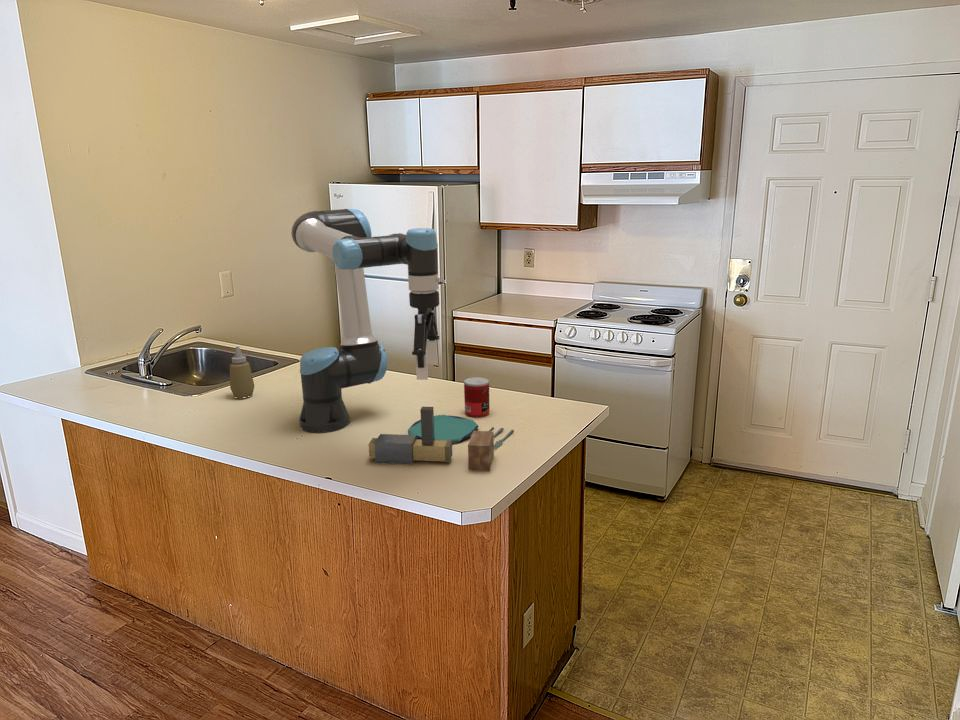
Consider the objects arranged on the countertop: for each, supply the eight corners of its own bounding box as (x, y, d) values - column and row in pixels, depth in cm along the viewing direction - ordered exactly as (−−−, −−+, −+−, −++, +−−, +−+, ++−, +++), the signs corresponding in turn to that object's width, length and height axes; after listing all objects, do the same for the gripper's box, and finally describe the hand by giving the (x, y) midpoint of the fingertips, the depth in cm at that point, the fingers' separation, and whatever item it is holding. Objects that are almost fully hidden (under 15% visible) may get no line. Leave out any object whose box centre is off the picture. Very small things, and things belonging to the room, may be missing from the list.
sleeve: (375, 463, 183) (374, 442, 182) (381, 454, 189) (380, 433, 187) (412, 464, 182) (411, 443, 180) (417, 455, 188) (416, 435, 186)
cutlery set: (431, 417, 217) (431, 410, 216) (518, 432, 204) (518, 425, 203) (397, 440, 200) (396, 432, 199) (489, 458, 187) (489, 451, 186)
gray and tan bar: (369, 458, 184) (365, 409, 180) (373, 452, 188) (370, 403, 184) (449, 461, 181) (447, 411, 177) (452, 455, 185) (450, 406, 182)
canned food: (487, 418, 214) (486, 385, 211) (462, 417, 216) (461, 383, 213) (491, 410, 221) (491, 377, 218) (467, 408, 223) (466, 376, 220)
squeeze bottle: (260, 395, 240) (254, 345, 235) (241, 401, 234) (235, 351, 229) (245, 391, 245) (239, 343, 240) (226, 398, 238) (219, 348, 233)
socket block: (468, 470, 178) (467, 445, 176) (473, 454, 188) (473, 430, 186) (489, 470, 177) (489, 446, 175) (493, 455, 187) (493, 431, 185)
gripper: (429, 300, 160) (432, 386, 166) (446, 282, 184) (449, 358, 190) (397, 300, 161) (402, 385, 167) (419, 282, 185) (422, 358, 191)
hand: (427, 371), depth 178 cm, fingers open, 13 cm apart
